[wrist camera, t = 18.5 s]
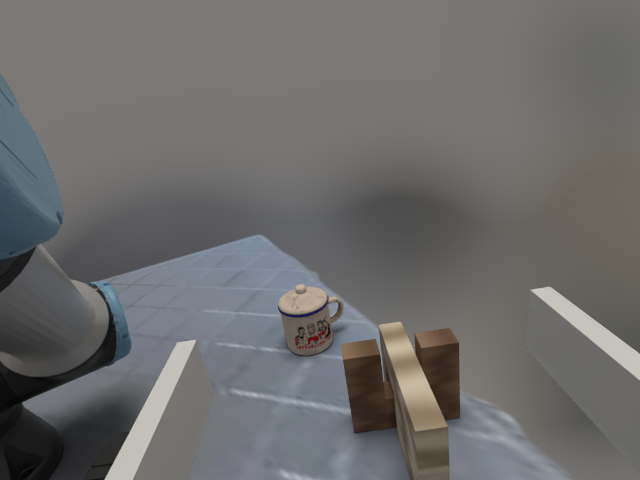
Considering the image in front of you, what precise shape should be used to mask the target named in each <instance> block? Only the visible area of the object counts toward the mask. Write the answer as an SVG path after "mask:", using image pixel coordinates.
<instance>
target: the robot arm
mask: <svg viewBox="0 0 640 480" xmlns="http://www.w3.org/2000/svg"><path fill="white" fill-rule="evenodd" d="M62 221H63V207H62V201H61V196H60V193H59V189H58V186H57V183H56V180H55V177H54V175H53V172H52V170H51V168H50V165H49V163H48V160H47V158H46V155H45V153H44V151H43V149H42V147H41V145H40V143H39V140H38V138H37V136H36V134H35V132H34V131H33V129H32V127H31V126H30V124H29V123H28V121H27V119H26V118H25V117H24V115H23V114H22V112H21V111H20V109H19V106H18V103H17V101H16V98H15V97H14V95H13V93H12V91H11V90H10V88H9V86H8V85H7V83H6V82H5V80H4V79H3V77H2V76H1V74H0V480H48V478H49V477H50V476H51V474H52V473H53V472H54V470H55V468H56V467H57V465H58V463H59V461H60V459H61V456H62V452H63V443H62V440H61V438H60V436H59V435H58V433H57V431H56V429H55V428H54V427H53V426H52V425H50V424H49V423H47V422H46V421H44V420H43V419H41V418H40V417H38V416H37V415H35V414H34V413H32V412H31V411H29V410H28V409H26V408H25V407H24V406H23V404H22V402H24V401H26V400H28V399H30V398H33V397H35V396H37V395H40V394H42V393H44V392H47V391H49V390H51V389H54V388H56V387H58V386H61V385H63V384H65V383H68V382H70V381H72V380H75V379H77V378H79V377H82V376H84V375H86V374H89V373H91V372H93V371H96V370H98V369H100V368H103V367H105V366H110V365H112V364H114V363H115V361H117V360H119V359H121V358H123V357H125V356H127V355H128V353H129V352H130V350H131V338H130V335H129V332H128V326H127V322H126V319H125V316H124V313H123V310H122V307H121V305H120V302H119V300H118V297H117V295H116V293H115V291H114V289H113V288H112V286H111V284H110V283H109V282H107V281H98V282H90V283H88V284H84V283H81V282H79V281H75V280H70V279H69V278H68V277H67V276H66V275H65V273H64V272H63V271H62V270H61V268H60V267H59V266H58V265H57V263H56V262H55V261H54V260H53V259H52V257H51V256H50V255H49V254H48V252H47V251H46V250H45V249H44V248H43V246H42V245H41V244H42V243H44V242H46V241H49V240H50V239H51V238H53V237H54V236H55V235H56V234H57V232H58V231H59V229H60V225H61V224H62ZM526 348H527V349H528V351H529V352H530V353H531V354H532V355H533V356H534V357H535V358H536V359H537V360H538V362H539V363H540V364H541V365H542V366H543V367H544V368H545V369H546V370H547V371H548V373H549V374H550V375H551V376H552V377H553V378H554V379H555V380H556V381H557V383H558V384H559V385H560V386H561V387H562V388H563V389H564V390H565V391H566V392H567V394H568V395H569V396H570V397H571V398H572V399H573V400H574V401H575V402H576V403H577V404H578V406H579V407H580V408H581V409H582V410H583V411H584V412H585V413H586V414H587V416H588V417H589V418H590V419H591V420H592V421H593V422H594V423H595V425H596V426H597V427H598V428H599V429H600V430H601V431H602V432H603V433H604V434H605V435H606V437H607V438H608V439H609V440H610V441H611V442H612V443H613V444H614V445H615V447H616V448H617V449H618V450H619V451H620V452H621V453H622V454H623V455H624V457H626V459H627V460H628V461H629V462H630V463H631V464H632V465H633V466H634V467H635V469H636V470H637V471H638V472H639V473H640V354H639V353H638V352H636V351H635V350H634V349H632V348H631V347H630V346H628V345H627V344H625V343H624V342H623V341H621V340H620V339H619V338H618V337H616V336H615V335H613V334H612V333H611V332H610V331H608V330H607V329H606V328H604V327H603V326H602V325H600V324H599V323H598V322H596V321H595V320H594V319H592V318H591V317H589V316H588V315H587V314H586V313H584V312H583V311H581V310H580V309H579V308H577V307H576V306H575V305H574V304H572V303H571V302H570V301H568V300H567V299H566V298H564V297H563V296H561V295H560V294H559V293H558V292H556V291H555V290H554V289H552V288H551V287H546V288H540V289H532V290H530V301H529V317H528V331H527V346H526ZM213 396H214V392H213V389H212V386H211V383H210V380H209V377H208V374H207V370H206V367H205V364H204V361H203V358H202V355H201V352H200V349H199V346H198V343H197V340H191V341H185V342H178V343H177V344H176V346H175V348H174V350H173V352H172V354H171V356H170V357H169V359H168V361H167V363H166V365H165V367H164V369H163V371H162V372H161V374H160V376H159V378H158V380H157V382H156V384H155V386H154V388H153V389H152V391H151V393H150V395H149V397H148V399H147V401H146V403H145V404H144V406H143V408H142V410H141V412H140V414H139V416H138V418H137V420H136V421H135V423H134V425H133V427H132V429H131V431H130V432H125V433H118V434H116V435H115V436H114V437H113V438H112V439H111V440H110V441H109V442H108V443H107V444H106V445H105V446H104V447H103V448H102V449H101V451H100V453H99V454H98V456H97V458H96V459H95V461H94V463H93V464H92V466H91V467H92V468H91V470H89V471H88V473H87V475H86V476H85V478H84V480H188V477H189V473H190V470H191V467H192V464H193V460H194V457H195V454H196V451H197V448H198V444H199V441H200V438H201V435H202V432H203V428H204V425H205V422H206V419H207V415H208V412H209V409H210V406H211V403H212V399H213Z"/></svg>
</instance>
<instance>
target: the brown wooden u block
mask: <svg viewBox="0 0 640 480" xmlns="http://www.w3.org/2000/svg"><path fill="white" fill-rule="evenodd" d="M341 349H342V356H343V363H344V369H345V376H346V382H347V389H348V395H349V402H350V408H351V414H352V421H353V427H354V433H358V432H365V431H372V430H379V429H386V428H393V427H397V422H396V412H395V401H394V392H393V389H392V386H391V382H390V381H384V382H383V376H382V366H381V357H380V352H379V349H378V345H377V342H376V339H372V340H366V341H359V342H352V343H345V344H341ZM415 349H416V357H417V359H418V361H419V364H420V366H421V368H422V370H423V372H424V375H425V377H426V379H427V381H428V384H429V386H430V388H431V390H432V392H433V395H434V397H435V399H436V401H437V404H438V406H439V408H440V410H441V412H442V415H443V417H444V419H445V420H448V419H455V418H460V386H459V342H458V340H457V339H456V337H455V336H454V334H453V333H452V331H451V330H450V328H447V329H440V330H433V331H426V332H420V333H415Z"/></svg>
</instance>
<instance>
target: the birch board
mask: <svg viewBox="0 0 640 480" xmlns="http://www.w3.org/2000/svg"><path fill="white" fill-rule="evenodd" d="M379 332H380V342H381V351H382V361H383V370H384V380H385V381H390V382H391V386H392V389H393V392H394V401H395V412H396V422H397V433H398V437H399V441H400V444H401V448H402V451H403V455H404V458H405V462H406V465H407V469H408V472H409V476H410V479H411V480H449V448H448V426H447V424H446V421H445V419H444V417H443V415H442V412H441V410H440V408H439V406H438V404H437V401H436V399H435V397H434V395H433V392H432V390H431V388H430V386H429V384H428V381H427V379H426V377H425V375H424V372H423V370H422V368H421V366H420V364H419V361H418V359H417V357H416V355H415V352H414V350H413V348H412V346H411V343H410V341H409V339H408V337H407V335H406V332H405V330H404V328H403V326H402V323H401V322H396V323H389V324H383V325H379Z"/></svg>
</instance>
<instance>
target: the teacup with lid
mask: <svg viewBox="0 0 640 480" xmlns="http://www.w3.org/2000/svg"><path fill="white" fill-rule="evenodd" d="M332 302H338V310H337V313H336V314H335V315H334V316H333V317H331V318H330V313H329V307H328V304H330V303H332ZM278 309H279V311H280V313H281V317H282V322H283V326H284V331H285V335H286V340H287V345H288V347H289V349H290V350H291V351H292V352H293V353H295V354H298V355H314V354H317V353H320V352H322V351H324V350H325V349H327V348H328V347H329V346H330V345H331V343H332V341H333V332H332V326H331V323H333V322H335V321H337V320H338V319H339V318H340V317H341V315H342V313H343V302H342V301H341V299H339V298H338V297H330V298H328V296H327V294H326V293H325V292H324V291H323V290H322V289H320V288H316V287H306V286H305V285H303V284H300V285H297V286H296V287H295V289H294V290H291V291H289V292H287V293H286V294H285V295H283V296H282V297H281V299H280V301H279V303H278Z"/></svg>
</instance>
